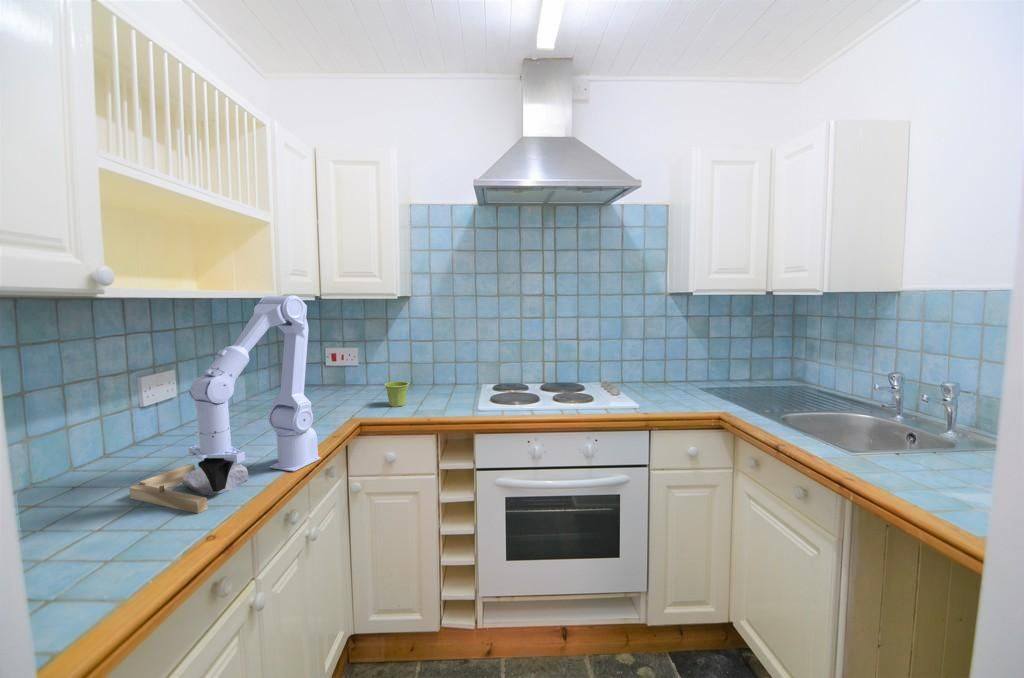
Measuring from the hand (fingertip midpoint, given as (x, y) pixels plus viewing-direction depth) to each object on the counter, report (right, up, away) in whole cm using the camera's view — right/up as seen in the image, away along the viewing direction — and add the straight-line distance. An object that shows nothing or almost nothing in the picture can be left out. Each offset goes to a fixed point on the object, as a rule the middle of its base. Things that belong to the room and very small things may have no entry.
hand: (219, 489), depth 100 cm
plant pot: (+19, +7, +80) cm, 82 cm away
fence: (-7, -1, +2) cm, 7 cm away
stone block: (-5, -1, +6) cm, 8 cm away
